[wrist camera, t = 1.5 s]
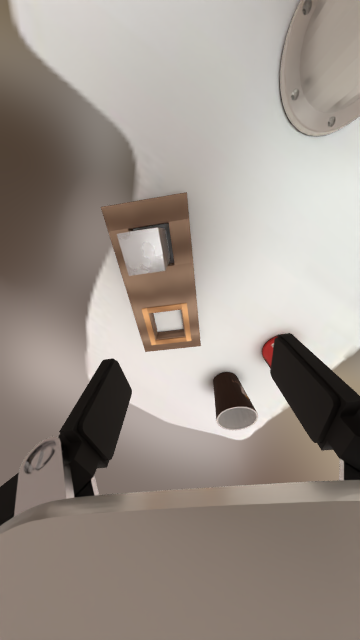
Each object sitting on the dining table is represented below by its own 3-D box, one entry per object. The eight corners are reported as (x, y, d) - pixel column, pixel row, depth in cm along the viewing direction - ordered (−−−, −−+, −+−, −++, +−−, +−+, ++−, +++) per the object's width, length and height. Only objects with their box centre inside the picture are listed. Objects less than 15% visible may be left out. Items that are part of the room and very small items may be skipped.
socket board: (107, 209, 24) (99, 206, 22) (186, 196, 23) (186, 191, 21) (147, 344, 37) (145, 352, 34) (199, 339, 36) (200, 346, 33)
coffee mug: (206, 372, 41) (213, 410, 32) (240, 366, 40) (257, 403, 31) (213, 399, 46) (221, 438, 38) (243, 395, 45) (258, 434, 37)
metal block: (138, 233, 26) (116, 233, 17) (165, 229, 25) (157, 227, 17) (145, 262, 28) (128, 275, 19) (170, 258, 28) (165, 270, 19)
